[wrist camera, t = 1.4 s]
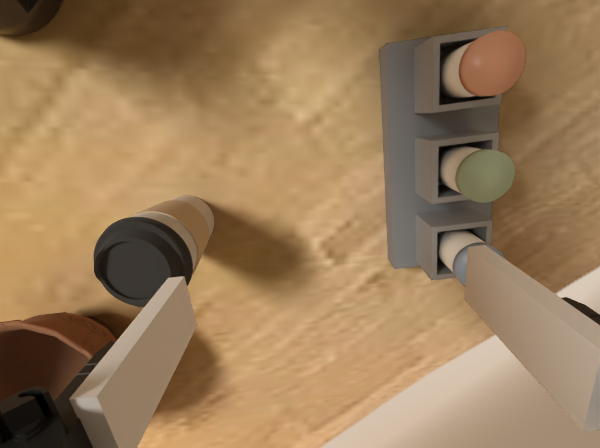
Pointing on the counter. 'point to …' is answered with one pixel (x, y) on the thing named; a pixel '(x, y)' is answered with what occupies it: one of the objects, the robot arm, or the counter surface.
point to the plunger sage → (476, 172)
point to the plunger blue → (458, 250)
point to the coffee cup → (153, 248)
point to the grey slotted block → (429, 150)
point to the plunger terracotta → (483, 66)
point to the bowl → (48, 351)
